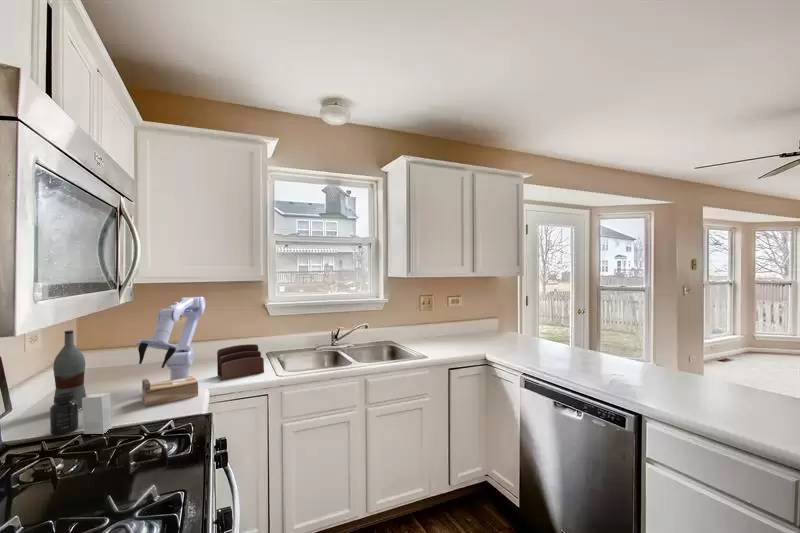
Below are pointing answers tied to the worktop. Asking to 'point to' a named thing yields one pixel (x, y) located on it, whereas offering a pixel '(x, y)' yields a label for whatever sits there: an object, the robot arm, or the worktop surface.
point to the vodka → (70, 370)
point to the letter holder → (239, 361)
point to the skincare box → (96, 413)
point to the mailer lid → (167, 384)
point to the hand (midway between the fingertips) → (151, 364)
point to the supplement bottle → (64, 414)
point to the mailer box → (169, 394)
